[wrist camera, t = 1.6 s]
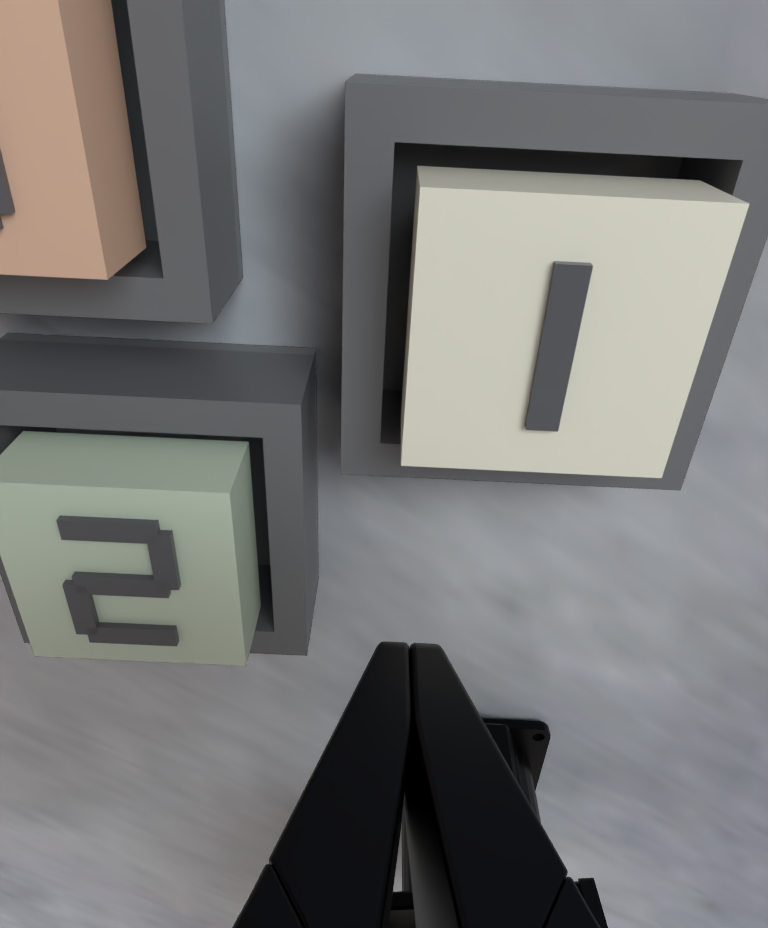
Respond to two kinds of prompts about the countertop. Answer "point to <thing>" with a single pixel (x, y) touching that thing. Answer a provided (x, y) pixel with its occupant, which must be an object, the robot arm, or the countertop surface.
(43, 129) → the tile
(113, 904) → the countertop surface
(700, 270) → the tile
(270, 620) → the tile collars
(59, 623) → the tile
